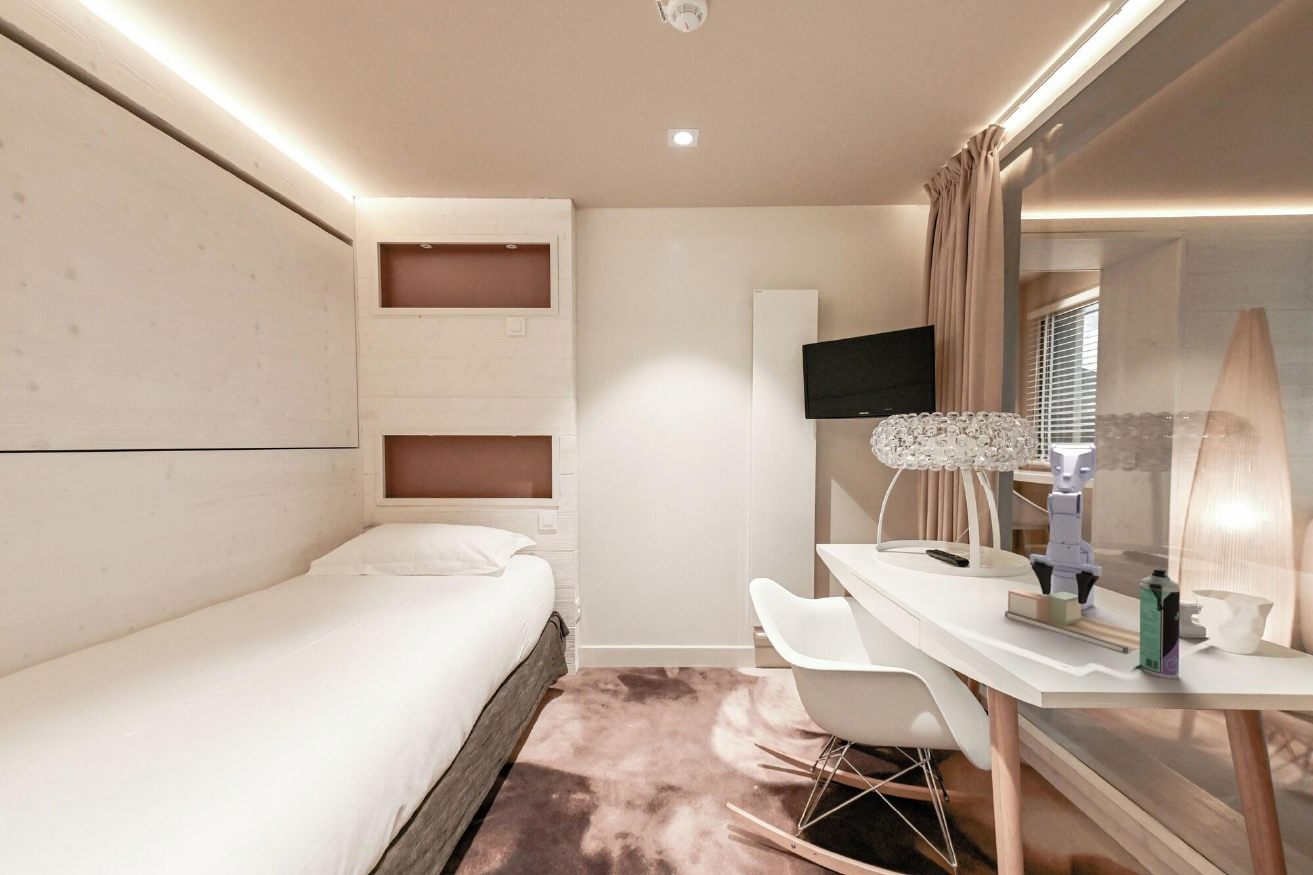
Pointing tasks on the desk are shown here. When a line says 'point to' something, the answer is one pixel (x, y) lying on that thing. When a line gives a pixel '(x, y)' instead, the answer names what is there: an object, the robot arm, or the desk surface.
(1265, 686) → the desk surface
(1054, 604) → the sage carton
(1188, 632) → the stamp
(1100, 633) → the shelf board
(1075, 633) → the rail
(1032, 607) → the clay carton
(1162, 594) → the spray can
